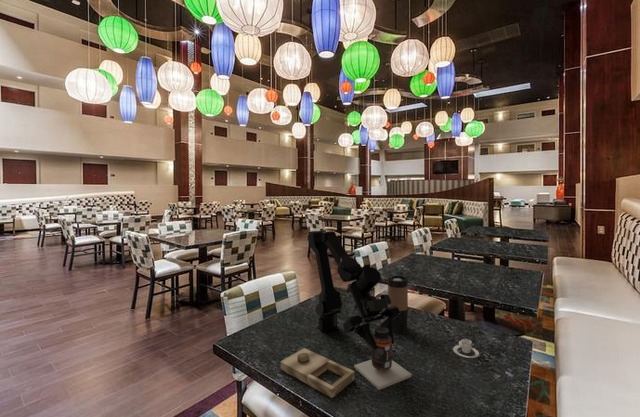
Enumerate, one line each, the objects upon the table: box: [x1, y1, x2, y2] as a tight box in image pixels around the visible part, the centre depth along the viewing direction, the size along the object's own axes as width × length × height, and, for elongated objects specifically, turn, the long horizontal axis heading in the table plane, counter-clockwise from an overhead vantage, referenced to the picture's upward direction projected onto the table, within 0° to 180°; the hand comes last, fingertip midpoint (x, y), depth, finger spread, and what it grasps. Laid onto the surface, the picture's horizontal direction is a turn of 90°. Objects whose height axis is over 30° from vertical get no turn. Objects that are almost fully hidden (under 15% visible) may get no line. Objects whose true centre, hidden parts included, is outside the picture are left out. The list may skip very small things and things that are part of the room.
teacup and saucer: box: [452, 338, 480, 359], centre depth 103 cm, size 9×8×4 cm
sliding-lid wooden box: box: [280, 347, 355, 399], centre depth 92 cm, size 20×10×4 cm, turn 49°
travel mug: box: [387, 275, 409, 334], centre depth 120 cm, size 8×8×20 cm
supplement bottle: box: [371, 326, 393, 370], centre depth 92 cm, size 6×6×11 cm
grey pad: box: [354, 358, 412, 391], centre depth 93 cm, size 12×12×1 cm
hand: (384, 346), depth 91 cm, fingers closed on supplement bottle, 6 cm apart
